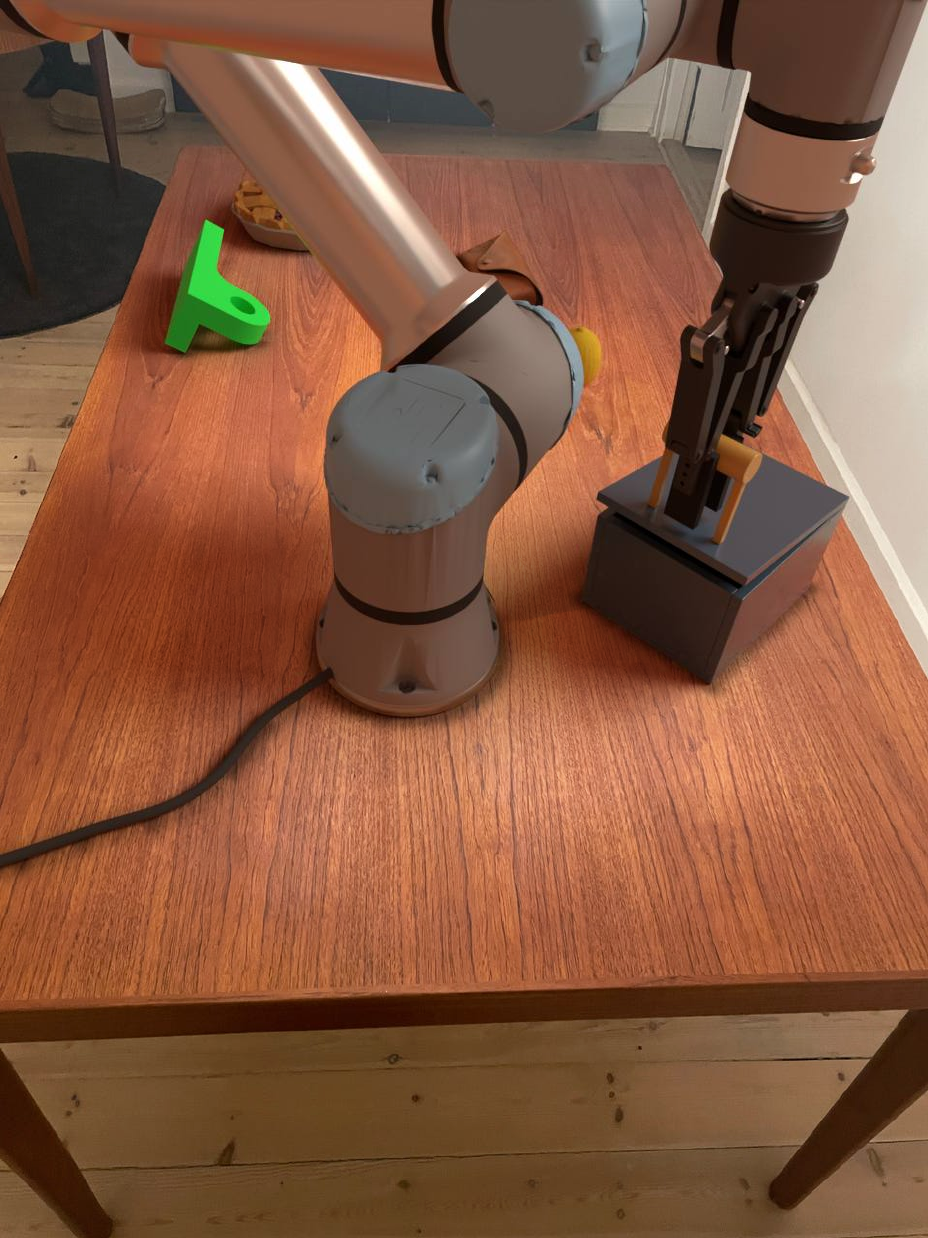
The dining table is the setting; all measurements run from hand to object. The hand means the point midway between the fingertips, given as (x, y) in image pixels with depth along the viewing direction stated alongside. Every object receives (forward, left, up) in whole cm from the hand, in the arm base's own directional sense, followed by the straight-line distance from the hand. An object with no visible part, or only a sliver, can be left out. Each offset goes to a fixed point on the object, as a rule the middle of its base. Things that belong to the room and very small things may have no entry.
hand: (692, 510), depth 70 cm
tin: (+6, 0, -13) cm, 15 cm away
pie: (+31, +84, -11) cm, 90 cm away
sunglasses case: (+38, +53, -13) cm, 67 cm away
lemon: (+25, +30, -13) cm, 41 cm away
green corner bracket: (-6, +67, -12) cm, 68 cm away
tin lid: (+6, 0, -2) cm, 6 cm away
